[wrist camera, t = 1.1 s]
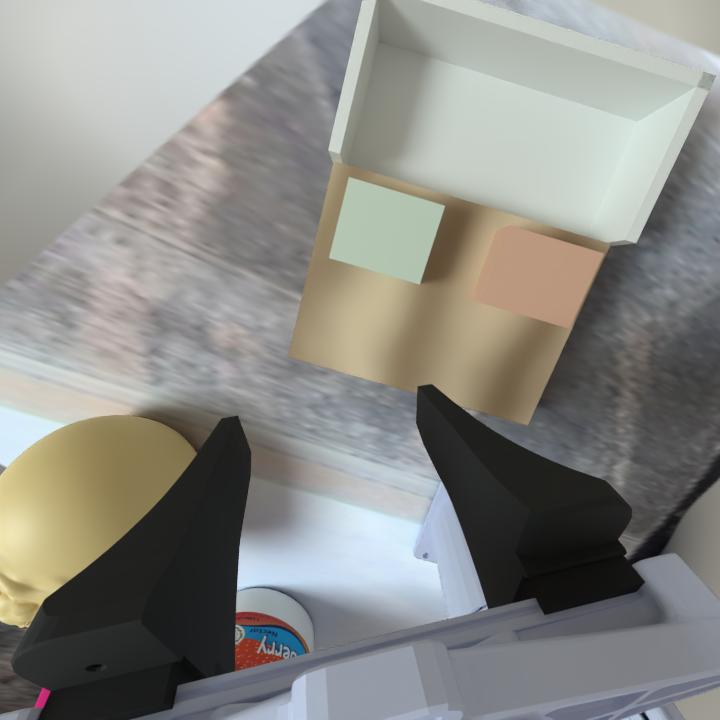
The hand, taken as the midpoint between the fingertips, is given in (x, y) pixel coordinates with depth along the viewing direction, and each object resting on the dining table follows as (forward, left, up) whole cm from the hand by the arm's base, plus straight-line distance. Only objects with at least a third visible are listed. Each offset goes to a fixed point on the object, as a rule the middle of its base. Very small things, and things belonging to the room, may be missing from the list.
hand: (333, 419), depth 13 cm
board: (-4, -5, -10) cm, 12 cm away
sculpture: (+13, +13, -11) cm, 21 cm away
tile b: (0, -8, -8) cm, 11 cm away
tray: (-4, -15, -10) cm, 18 cm away
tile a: (-8, -8, -8) cm, 14 cm away
